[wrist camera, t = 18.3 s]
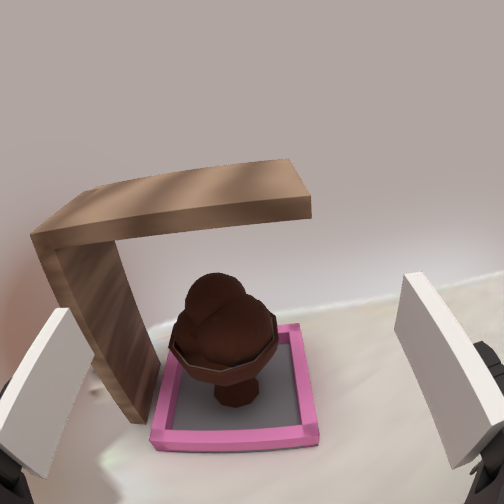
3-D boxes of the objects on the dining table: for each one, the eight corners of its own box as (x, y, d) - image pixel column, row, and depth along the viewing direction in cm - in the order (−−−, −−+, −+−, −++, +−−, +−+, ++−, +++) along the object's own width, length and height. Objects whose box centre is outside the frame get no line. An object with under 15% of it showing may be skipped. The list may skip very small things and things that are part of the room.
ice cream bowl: (173, 400, 34) (129, 301, 27) (229, 345, 42) (209, 246, 34) (245, 444, 28) (219, 346, 21) (299, 374, 36) (297, 268, 29)
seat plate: (299, 336, 42) (299, 323, 41) (318, 445, 27) (319, 435, 26) (178, 345, 43) (173, 332, 42) (157, 450, 28) (149, 440, 27)
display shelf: (298, 349, 40) (288, 158, 28) (309, 419, 30) (310, 195, 19) (148, 358, 41) (87, 188, 29) (130, 423, 31) (29, 234, 20)
